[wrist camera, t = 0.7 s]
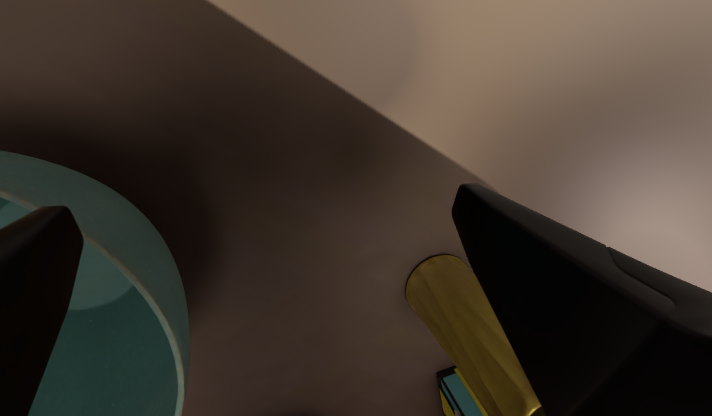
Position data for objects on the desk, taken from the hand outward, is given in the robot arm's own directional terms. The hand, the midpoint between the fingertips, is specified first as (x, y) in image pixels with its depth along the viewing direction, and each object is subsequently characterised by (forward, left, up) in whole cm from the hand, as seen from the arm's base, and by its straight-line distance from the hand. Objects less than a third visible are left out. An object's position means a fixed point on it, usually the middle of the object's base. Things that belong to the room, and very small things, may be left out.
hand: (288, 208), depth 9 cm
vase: (-1, -20, -17) cm, 26 cm away
